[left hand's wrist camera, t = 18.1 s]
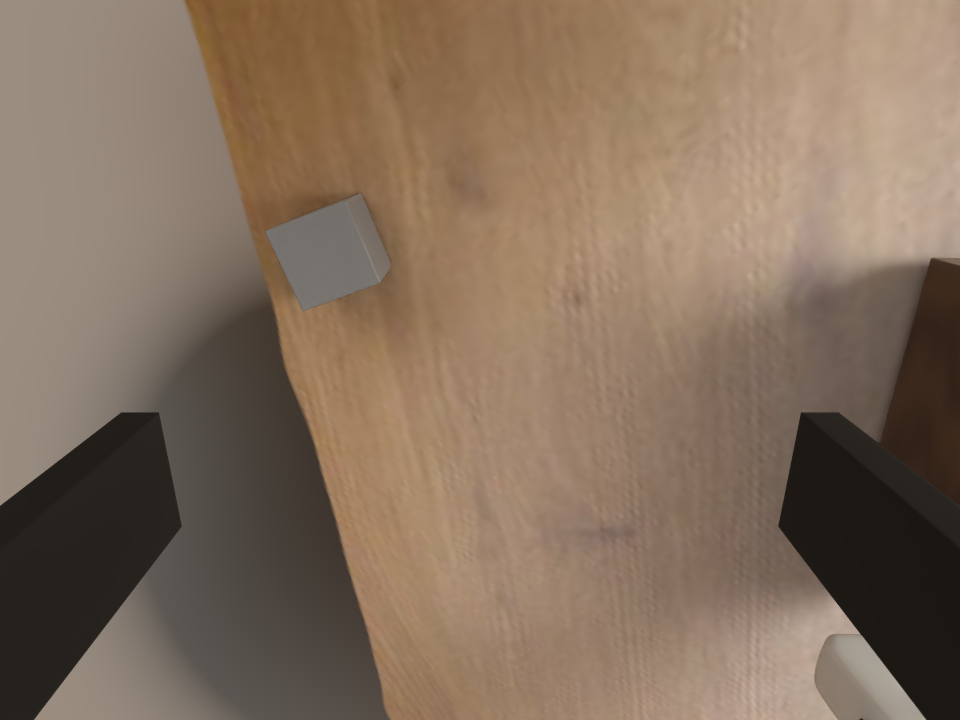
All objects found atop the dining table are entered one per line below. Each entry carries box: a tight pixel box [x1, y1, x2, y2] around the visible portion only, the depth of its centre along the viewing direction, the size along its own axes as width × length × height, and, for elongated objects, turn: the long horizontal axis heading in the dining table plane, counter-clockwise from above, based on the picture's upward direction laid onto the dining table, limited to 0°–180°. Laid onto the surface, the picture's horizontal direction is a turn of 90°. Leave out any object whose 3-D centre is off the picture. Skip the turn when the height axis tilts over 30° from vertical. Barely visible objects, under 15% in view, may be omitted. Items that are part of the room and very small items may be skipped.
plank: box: [880, 258, 960, 506], centre depth 39 cm, size 26×4×9 cm, turn 179°
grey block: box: [265, 193, 392, 311], centre depth 37 cm, size 5×5×5 cm
